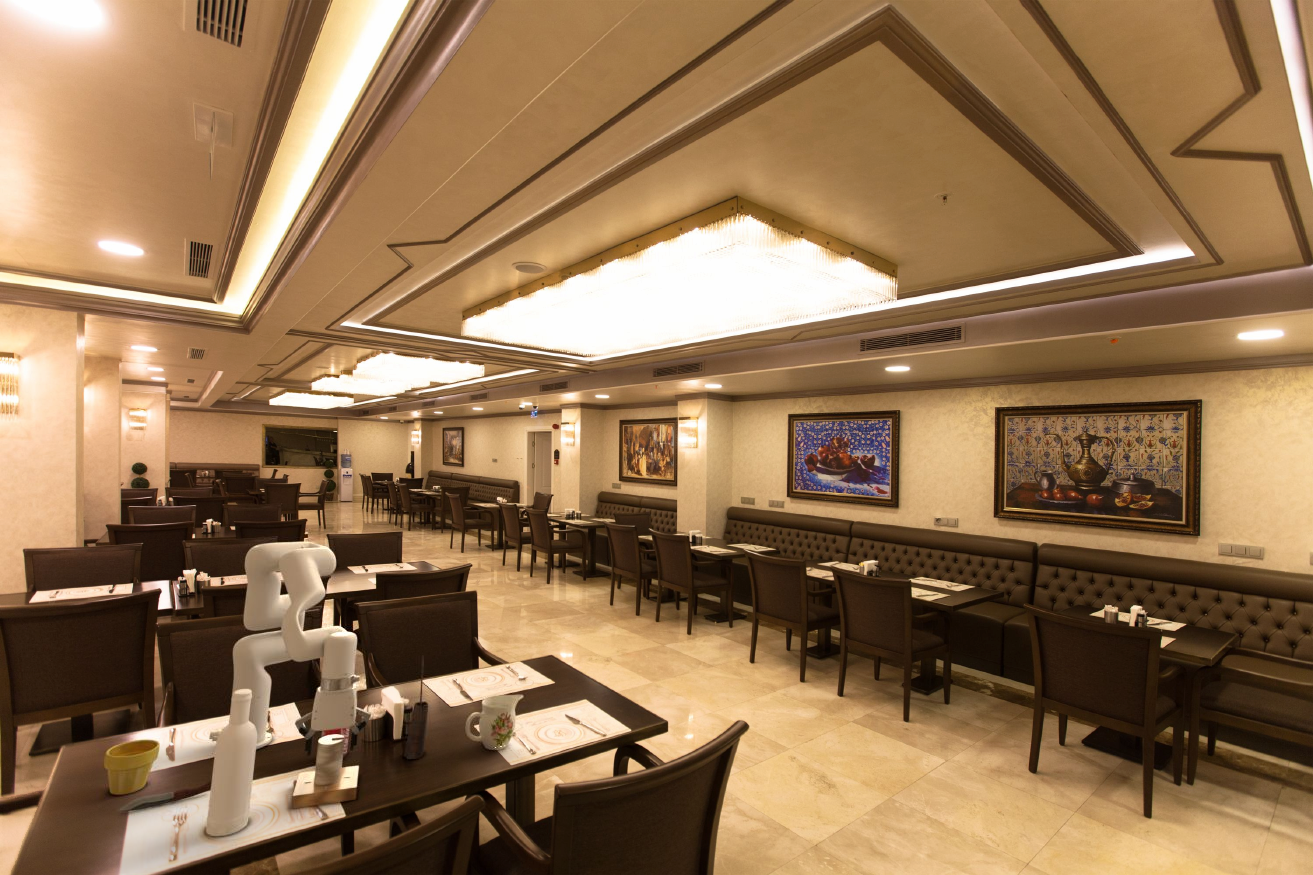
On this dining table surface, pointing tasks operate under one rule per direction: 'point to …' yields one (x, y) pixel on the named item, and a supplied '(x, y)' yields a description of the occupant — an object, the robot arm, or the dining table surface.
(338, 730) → the soda can
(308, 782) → the stand
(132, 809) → the knife
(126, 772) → the flower pot
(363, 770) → the dining table surface
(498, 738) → the pitcher
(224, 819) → the bottle
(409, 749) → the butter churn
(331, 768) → the towel roll
